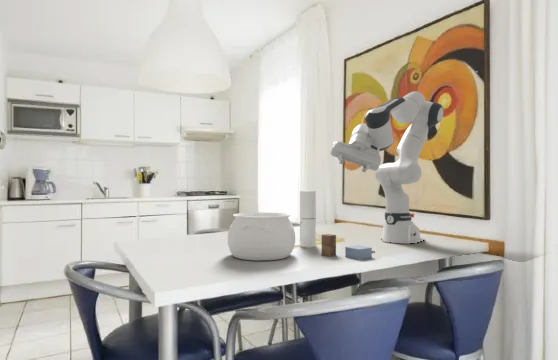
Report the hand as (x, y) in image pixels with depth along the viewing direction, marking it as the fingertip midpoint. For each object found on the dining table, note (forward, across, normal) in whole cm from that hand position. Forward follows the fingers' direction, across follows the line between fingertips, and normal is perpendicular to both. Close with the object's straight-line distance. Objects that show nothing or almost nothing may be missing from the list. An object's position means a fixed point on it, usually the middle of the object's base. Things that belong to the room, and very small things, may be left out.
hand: (352, 166), depth 148 cm
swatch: (+12, +17, +30) cm, 37 cm away
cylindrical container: (+9, -5, +44) cm, 45 cm away
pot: (+32, -21, +32) cm, 50 cm away
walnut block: (+23, +3, +28) cm, 36 cm away
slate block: (+22, +14, +24) cm, 35 cm away
